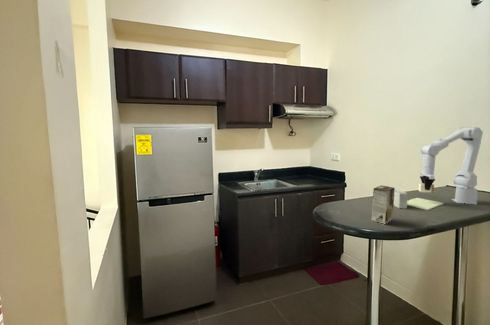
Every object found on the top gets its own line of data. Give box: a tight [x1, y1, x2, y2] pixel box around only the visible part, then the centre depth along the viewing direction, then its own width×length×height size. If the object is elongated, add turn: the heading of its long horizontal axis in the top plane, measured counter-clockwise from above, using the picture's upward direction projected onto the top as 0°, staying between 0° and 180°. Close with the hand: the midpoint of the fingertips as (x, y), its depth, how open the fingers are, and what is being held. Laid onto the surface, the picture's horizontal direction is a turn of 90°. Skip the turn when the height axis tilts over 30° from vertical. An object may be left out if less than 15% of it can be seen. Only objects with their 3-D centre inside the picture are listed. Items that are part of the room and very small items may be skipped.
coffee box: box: [371, 185, 396, 225], centre depth 120 cm, size 9×6×16 cm
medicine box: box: [393, 189, 409, 210], centre depth 143 cm, size 8×4×9 cm, turn 179°
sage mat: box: [407, 197, 444, 211], centre depth 148 cm, size 20×14×1 cm
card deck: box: [418, 182, 435, 194], centre depth 148 cm, size 3×6×4 cm, turn 71°
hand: (426, 189), depth 148 cm, fingers closed on card deck, 3 cm apart
